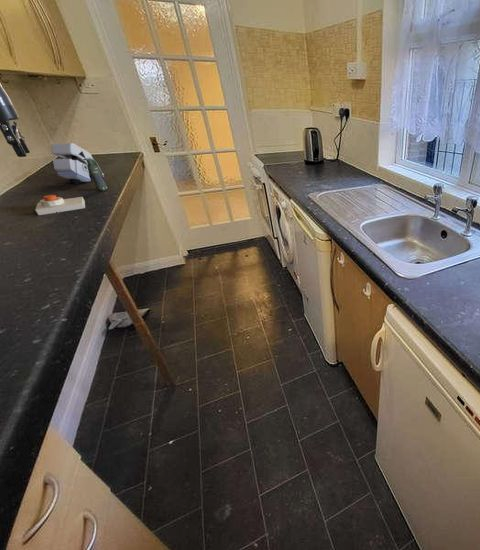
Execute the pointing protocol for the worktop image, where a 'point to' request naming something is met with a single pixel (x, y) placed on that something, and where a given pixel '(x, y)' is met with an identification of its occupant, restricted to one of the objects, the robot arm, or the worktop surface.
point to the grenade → (96, 174)
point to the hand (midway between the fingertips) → (24, 154)
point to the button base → (59, 205)
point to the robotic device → (71, 162)
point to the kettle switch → (50, 197)
